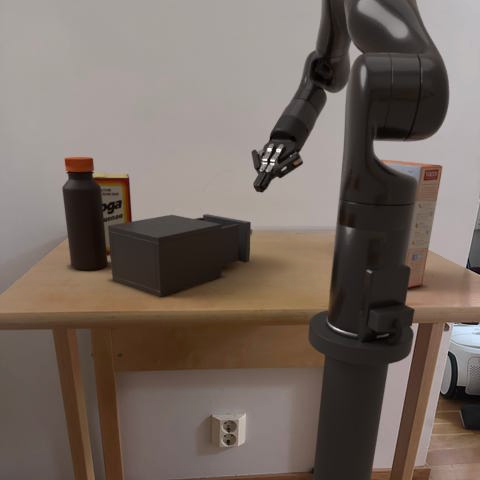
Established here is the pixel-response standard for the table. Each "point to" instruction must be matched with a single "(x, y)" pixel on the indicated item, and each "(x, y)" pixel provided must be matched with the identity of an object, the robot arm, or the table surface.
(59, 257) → the table surface
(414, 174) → the cracker box
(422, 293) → the table surface
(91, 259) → the bottle
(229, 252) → the drawer
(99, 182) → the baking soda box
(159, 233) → the cabinet
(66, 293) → the table surface
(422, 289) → the table surface
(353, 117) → the robot arm
